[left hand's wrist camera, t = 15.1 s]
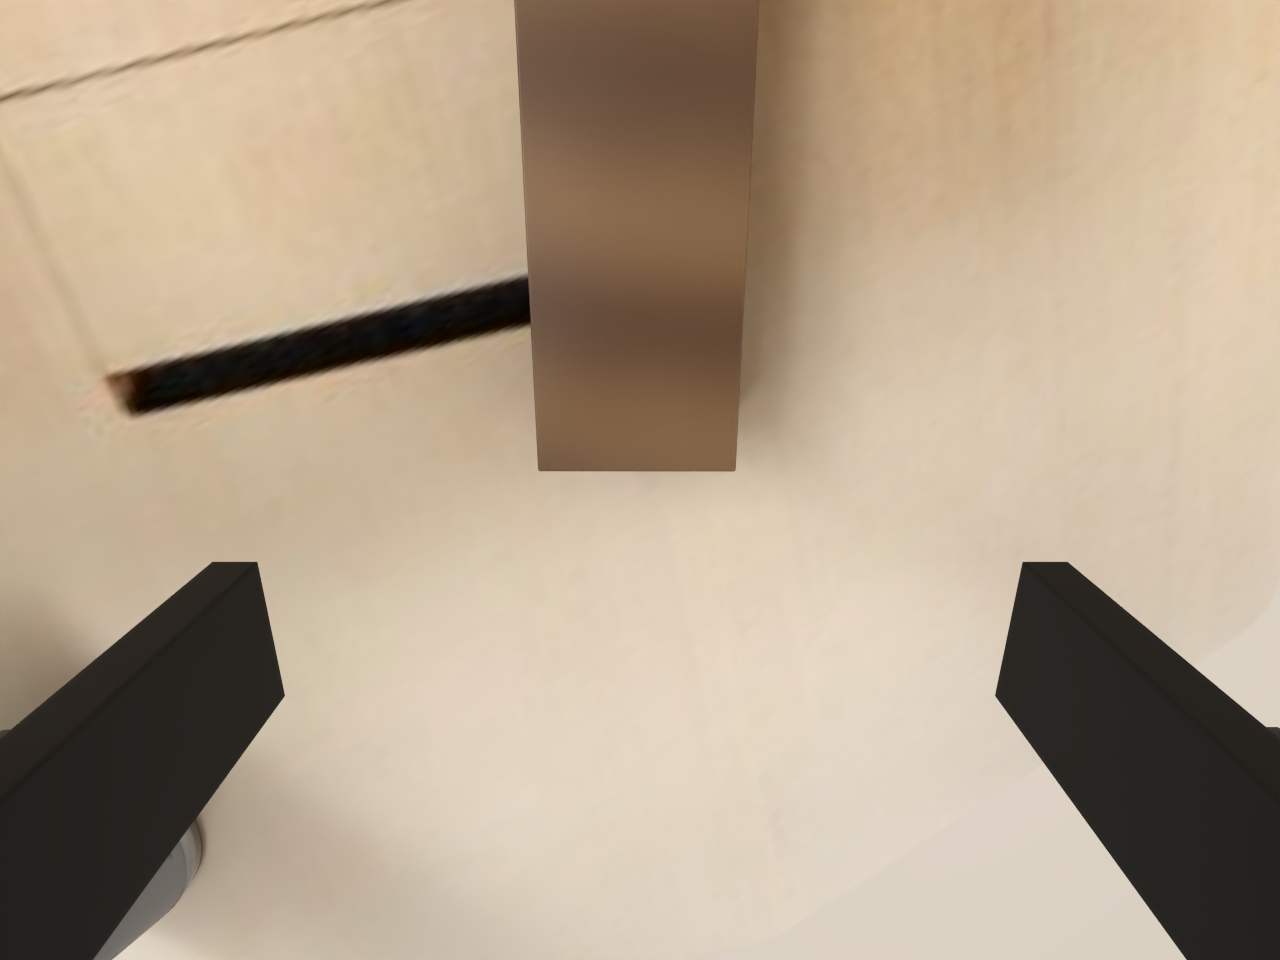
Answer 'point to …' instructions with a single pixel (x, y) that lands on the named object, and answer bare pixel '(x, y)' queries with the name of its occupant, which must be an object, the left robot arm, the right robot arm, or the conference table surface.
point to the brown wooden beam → (636, 227)
